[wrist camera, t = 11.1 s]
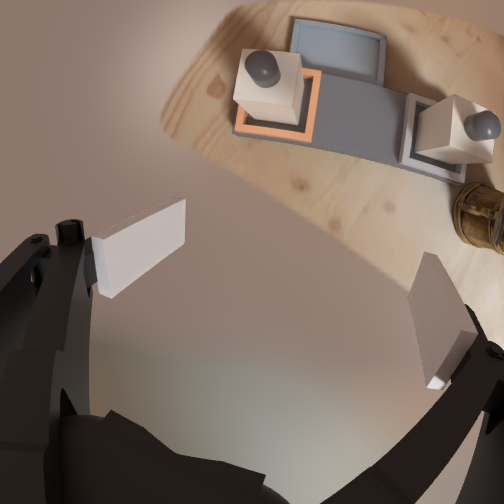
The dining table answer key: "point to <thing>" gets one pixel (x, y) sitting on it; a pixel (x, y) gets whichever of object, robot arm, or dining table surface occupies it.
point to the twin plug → (457, 132)
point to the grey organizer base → (355, 124)
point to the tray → (340, 50)
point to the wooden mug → (480, 216)
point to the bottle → (270, 85)
